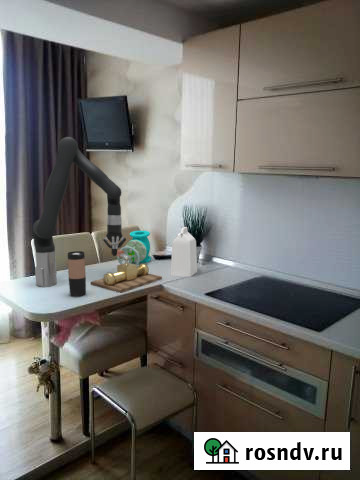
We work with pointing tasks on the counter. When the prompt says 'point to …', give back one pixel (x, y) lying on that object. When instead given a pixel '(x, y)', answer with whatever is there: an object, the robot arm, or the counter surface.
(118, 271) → the brass valve
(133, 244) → the valve
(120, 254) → the valve lever
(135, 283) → the mounting board
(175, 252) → the milk
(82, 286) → the travel mug
